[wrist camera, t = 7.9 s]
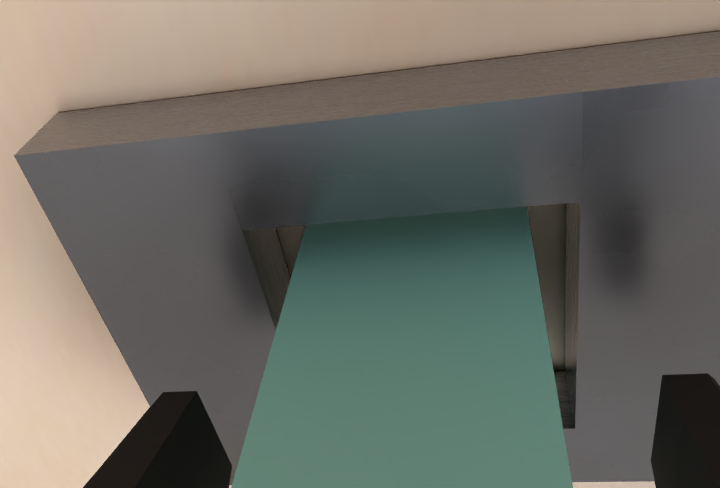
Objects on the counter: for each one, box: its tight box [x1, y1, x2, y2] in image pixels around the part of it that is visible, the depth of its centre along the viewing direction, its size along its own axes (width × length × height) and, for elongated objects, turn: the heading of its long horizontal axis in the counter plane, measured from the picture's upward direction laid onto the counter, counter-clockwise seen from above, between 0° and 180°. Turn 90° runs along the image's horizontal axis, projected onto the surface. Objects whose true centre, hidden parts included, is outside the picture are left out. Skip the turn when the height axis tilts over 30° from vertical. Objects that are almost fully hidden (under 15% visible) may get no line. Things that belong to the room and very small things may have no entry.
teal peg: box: [231, 207, 573, 488], centre depth 10 cm, size 4×4×8 cm
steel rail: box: [14, 31, 720, 485], centre depth 12 cm, size 20×9×2 cm, turn 100°
